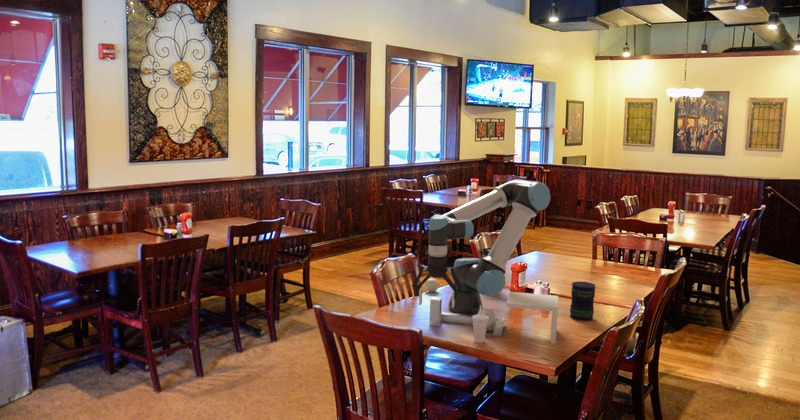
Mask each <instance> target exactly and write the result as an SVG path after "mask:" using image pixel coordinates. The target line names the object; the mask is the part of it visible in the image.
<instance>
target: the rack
mask: <svg viewBox="0 0 800 420" xmlns="http://www.w3.org/2000/svg"><path fill="white" fill-rule="evenodd" d="M505 308H515V309H524V310H525V309H526V310H534V311H537V310H538V311H545V312H546V311H547V312H551V326H550V338H549V339H550V340H549V341H550V342H552V343H551V344H557V343H556V342H557V328H558V327H557V325H558V310H559V309H558V308H559V296H558V295H553V294H552V295H551V294H540V293H530V292H529V293H528V292H516V291H509V293H508V297H507V300H506V304H505ZM550 342H549V343H550Z"/></svg>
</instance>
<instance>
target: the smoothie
mask: <svg viewBox="0 0 800 420" xmlns="http://www.w3.org/2000/svg"><path fill="white" fill-rule="evenodd" d="M472 315H473V316H472V320H473V324H472V328H473V340H474V342H475V343H477V344H482V343H485V338H486V333H487V331H486V328H487V322H488V320H489V317H488V316H486V315H481V305H480V315H477V314H472Z"/></svg>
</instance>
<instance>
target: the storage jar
mask: <svg viewBox="0 0 800 420" xmlns="http://www.w3.org/2000/svg"><path fill="white" fill-rule="evenodd" d="M570 291H571V292H570V293H571V294H570V295H571V304H570V310H569V318H571V319H572V320H574V321H577V322H591V321H593V319H594V311H595V308H594V300H595V297H596V296H595V295H596V284H595V283H592V282H588V281H574V282H573V281H572V283H571V290H570Z"/></svg>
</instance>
